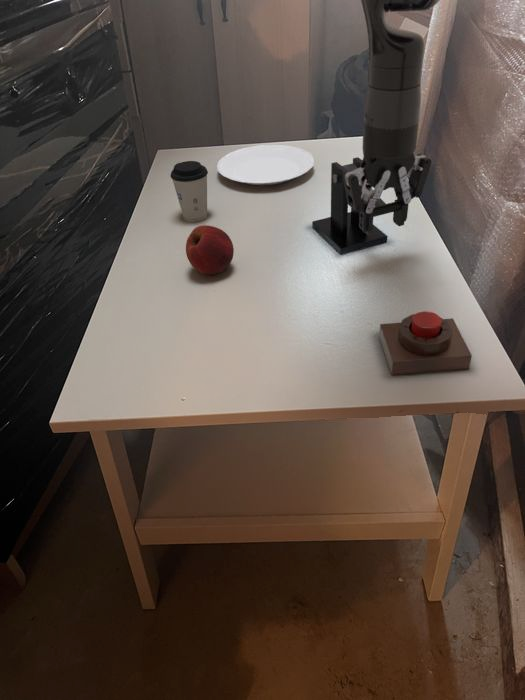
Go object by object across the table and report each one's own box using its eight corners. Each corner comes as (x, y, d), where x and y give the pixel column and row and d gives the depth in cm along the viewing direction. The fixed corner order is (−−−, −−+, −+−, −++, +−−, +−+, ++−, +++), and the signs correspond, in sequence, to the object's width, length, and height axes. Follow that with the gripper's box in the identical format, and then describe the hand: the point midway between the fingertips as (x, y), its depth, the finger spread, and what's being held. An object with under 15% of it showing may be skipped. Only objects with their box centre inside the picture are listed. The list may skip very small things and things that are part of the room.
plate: (215, 159, 135) (214, 149, 133) (305, 150, 136) (305, 140, 134) (220, 198, 119) (219, 187, 117) (323, 187, 120) (323, 176, 118)
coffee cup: (217, 208, 115) (211, 158, 109) (208, 225, 110) (201, 174, 103) (183, 207, 116) (175, 158, 110) (172, 224, 111) (163, 173, 105)
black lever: (400, 214, 91) (402, 201, 89) (371, 222, 90) (373, 208, 88) (359, 174, 99) (360, 161, 97) (332, 180, 98) (333, 167, 96)
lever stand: (387, 242, 101) (393, 170, 93) (340, 254, 99) (342, 182, 91) (355, 216, 109) (358, 148, 101) (312, 227, 107) (311, 158, 99)
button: (435, 321, 77) (437, 310, 76) (443, 337, 74) (445, 326, 73) (408, 323, 77) (409, 312, 76) (415, 340, 74) (416, 329, 73)
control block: (450, 330, 81) (454, 307, 79) (469, 368, 75) (474, 344, 72) (378, 336, 81) (380, 313, 79) (391, 375, 75) (393, 351, 72)
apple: (185, 264, 99) (177, 221, 94) (229, 254, 101) (224, 212, 96) (194, 286, 94) (187, 242, 89) (240, 276, 95) (236, 232, 90)
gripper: (358, 135, 77) (353, 249, 87) (451, 115, 80) (435, 227, 91) (332, 119, 82) (330, 228, 93) (420, 101, 86) (408, 208, 97)
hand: (382, 227), depth 92 cm, fingers closed on black lever, 5 cm apart
